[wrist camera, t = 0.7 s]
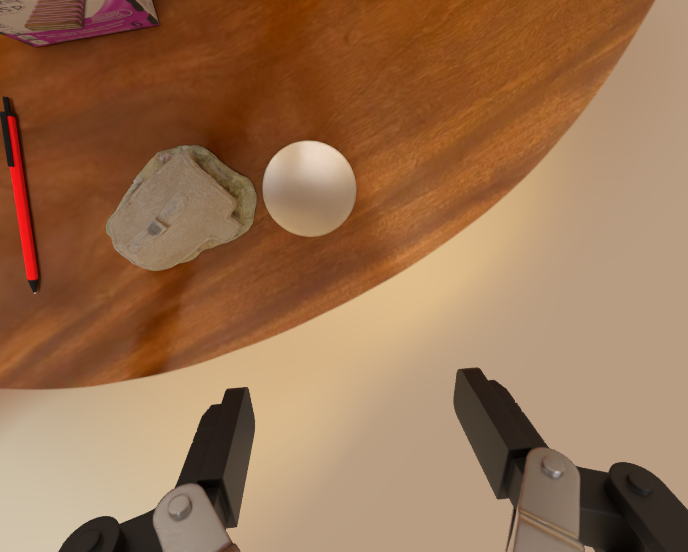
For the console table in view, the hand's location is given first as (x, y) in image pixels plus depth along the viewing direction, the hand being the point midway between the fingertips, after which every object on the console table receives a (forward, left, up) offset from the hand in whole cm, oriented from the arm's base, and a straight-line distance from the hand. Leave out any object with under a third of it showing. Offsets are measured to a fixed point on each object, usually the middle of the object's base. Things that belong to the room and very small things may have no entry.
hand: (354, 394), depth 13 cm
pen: (-7, -28, -28) cm, 40 cm away
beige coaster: (-4, 0, -28) cm, 28 cm away
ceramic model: (-4, -13, -28) cm, 31 cm away
